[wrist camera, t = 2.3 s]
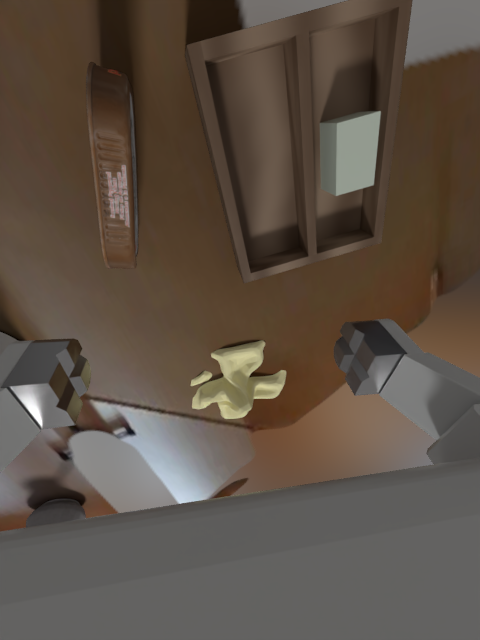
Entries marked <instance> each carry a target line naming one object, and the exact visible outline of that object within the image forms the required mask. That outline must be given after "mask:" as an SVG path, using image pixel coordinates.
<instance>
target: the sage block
mask: <svg viewBox="0 0 480 640" xmlns="http://www.w3.org/2000/svg"><path fill="white" fill-rule="evenodd" d="M380 115H381V111H366V112H356V113H353V114H349V115H346V116H342V117H339V118H335V119H332V120H328V121H325V122H321V123H320V169H321V189H322V190H324V191H326V192H328V193H331V194H333V195H335V196H338V195H341V194H345V193H348V192H352V191H355V190H359V189H362V188H365V187H369V186H372V185H374V177H375V167H376V156H377V146H378V136H379V125H380Z"/></svg>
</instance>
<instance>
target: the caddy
mask: <svg viewBox="0 0 480 640" xmlns="http://www.w3.org/2000/svg"><path fill="white" fill-rule="evenodd" d="M411 7H412V0H348V1H344V2H340V3H337V4H333V5H330V6H326V7H323V8H319V9H315V10H311V11H308V12H304V13H301V14H297V15H293V16H290V17H286V18H283V19H279V20H275V21H272V22H268V23H265V24H261V25H257V26H254V27H250V28H246V29H243V30H239V31H235V32H232V33H228V34H224V35H221V36H217V37H214V38H210V39H206V40H203V41H199V42H195V43H192V44H188V45H187V46H186V53H185V58H186V62H187V66H188V70H189V74H190V78H191V82H192V86H193V90H194V94H195V98H196V102H197V106H198V110H199V114H200V118H201V122H202V126H203V130H204V134H205V138H206V142H207V146H208V150H209V154H210V158H211V162H212V166H213V170H214V174H215V178H216V182H217V186H218V191H219V195H220V199H221V203H222V207H223V211H224V215H225V219H226V223H227V227H228V231H229V235H230V239H231V243H232V247H233V251H234V255H235V259H236V263H237V267H238V270H239V272H240V275H241V277H242V279H243V282H244V283H247V282H250V281H253V280H257V279H260V278H263V277H267V276H270V275H274V274H277V273H280V272H284V271H287V270H291V269H294V268H297V267H301V266H304V265H307V264H311V263H314V262H318V261H321V260H324V259H328V258H331V257H334V256H338V255H341V254H345V253H348V252H351V251H355V250H358V249H362V248H365V247H368V246H372V245H375V244H378V243H381V240H382V232H383V224H384V217H385V209H386V201H387V193H388V186H389V178H390V170H391V162H392V155H393V147H394V139H395V131H396V124H397V116H398V108H399V100H400V93H401V85H402V77H403V69H404V62H405V54H406V46H407V38H408V31H409V22H410V15H411ZM366 111H381V115H380V125H379V136H378V146H377V156H376V167H375V177H374V185H372V186H369V187H365V188H362V189H359V190H355V191H352V192H348V193H345V194H341V195H338V196H335V195H333V194H331V193H328V192H326V191H324V190H322V189H321V169H320V123H321V122H325V121H328V120H332V119H335V118H339V117H342V116H346V115H349V114H353V113H356V112H366Z"/></svg>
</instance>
